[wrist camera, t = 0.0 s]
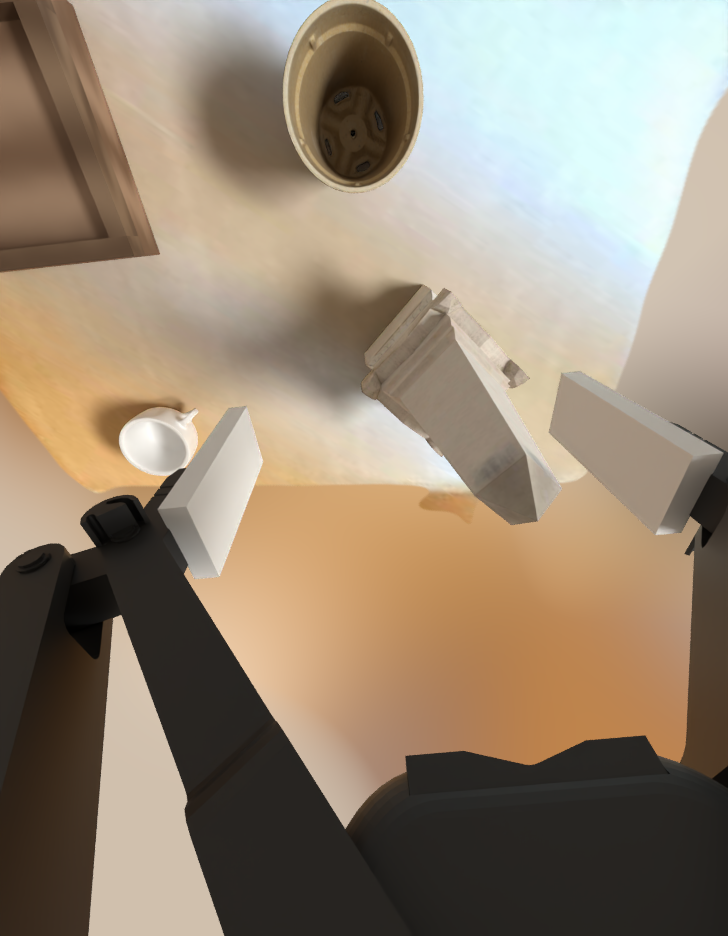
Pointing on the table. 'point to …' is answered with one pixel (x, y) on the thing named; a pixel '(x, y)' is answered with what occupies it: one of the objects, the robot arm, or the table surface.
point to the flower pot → (353, 94)
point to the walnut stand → (60, 149)
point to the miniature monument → (461, 402)
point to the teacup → (159, 440)
